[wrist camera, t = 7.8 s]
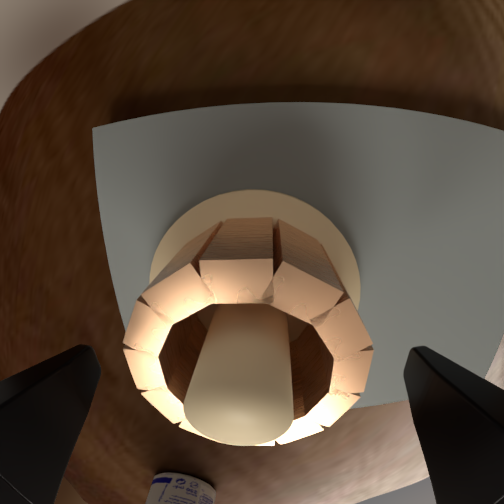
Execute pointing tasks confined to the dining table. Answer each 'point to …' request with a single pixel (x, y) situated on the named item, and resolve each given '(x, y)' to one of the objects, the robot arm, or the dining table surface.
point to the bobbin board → (320, 227)
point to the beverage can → (179, 490)
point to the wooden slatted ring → (252, 291)
